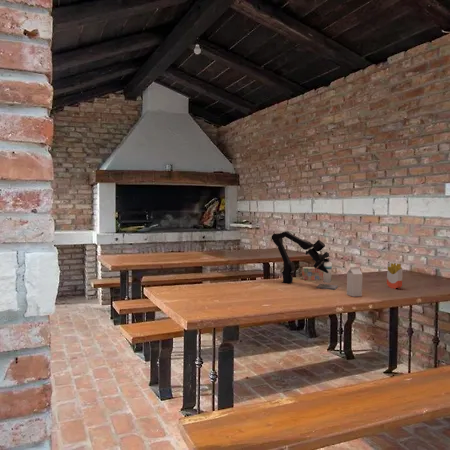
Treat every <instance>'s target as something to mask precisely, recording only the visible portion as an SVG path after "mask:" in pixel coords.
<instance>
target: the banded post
mask: <svg viewBox="0 0 450 450" xmlns="http://www.w3.org/2000/svg"><path fill="white" fill-rule="evenodd" d="M332 263H333V262H331V261H329V262H324V266H325V268H326V269H327V271H328V273H326V272H324V273H323V280H322V281H323V282H324V283H332V269H333V264H332Z"/></svg>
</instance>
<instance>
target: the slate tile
mask: <svg viewBox="0 0 450 450" xmlns="http://www.w3.org/2000/svg"><path fill="white" fill-rule="evenodd" d="M338 286H339V285H336V284H328V283H326V284H325V283H319V284H318V285H317V286H316V289H320V288H321V289H322V290H329V291H330V290H332V291H335V290H336V289H337V288H338Z"/></svg>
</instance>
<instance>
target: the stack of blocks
mask: <svg viewBox="0 0 450 450" xmlns="http://www.w3.org/2000/svg"><path fill="white" fill-rule="evenodd" d="M317 268H318V266H317ZM317 268H314V267H313V266H312V267H311V266H302V269H301V272H302V274H301V275H302V276H301V279H303V281H304V280H305V281H306V280H307V281H308V280H309V281H312V280H313V281H323V273H324V271H322V270H320V269H317ZM316 279H318V280H316ZM320 279H321V280H320Z"/></svg>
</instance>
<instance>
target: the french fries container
mask: <svg viewBox="0 0 450 450" xmlns="http://www.w3.org/2000/svg"><path fill="white" fill-rule="evenodd" d="M403 271H404V270H403V267H402V264H401V263H396V262H394V263H393V262H391V263H390V266H387V274H386V284H387V286H388V288H389V287H390V288H389V289H393V288H394V289H393V290H397V289H396V288H399V289H401V287H402V286H403Z"/></svg>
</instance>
